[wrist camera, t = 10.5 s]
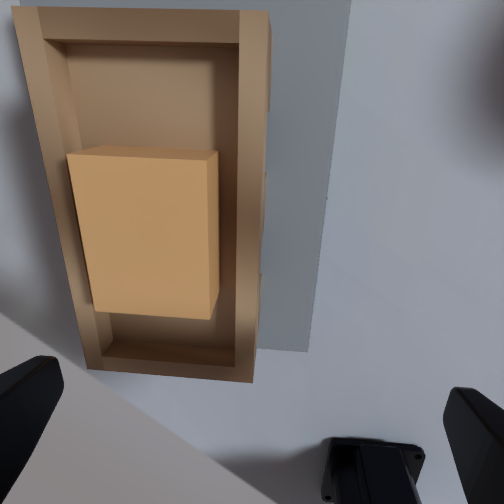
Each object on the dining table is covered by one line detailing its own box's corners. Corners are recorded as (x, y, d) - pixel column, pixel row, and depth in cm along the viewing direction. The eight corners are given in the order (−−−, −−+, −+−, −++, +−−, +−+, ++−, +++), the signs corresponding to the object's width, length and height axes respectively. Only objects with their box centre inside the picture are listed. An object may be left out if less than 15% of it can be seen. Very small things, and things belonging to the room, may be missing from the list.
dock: (304, 318, 21) (307, 352, 18) (111, 304, 22) (86, 334, 19) (340, -3, 14) (354, -28, 12) (62, -8, 15) (13, -32, 12)
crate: (220, 288, 13) (209, 320, 11) (121, 281, 13) (95, 311, 11) (219, 150, 11) (206, 160, 9) (101, 145, 11) (66, 153, 9)
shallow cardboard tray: (259, 316, 17) (252, 383, 13) (132, 306, 18) (87, 368, 14) (272, 39, 13) (267, 10, 8) (97, 35, 13) (10, 6, 9)
